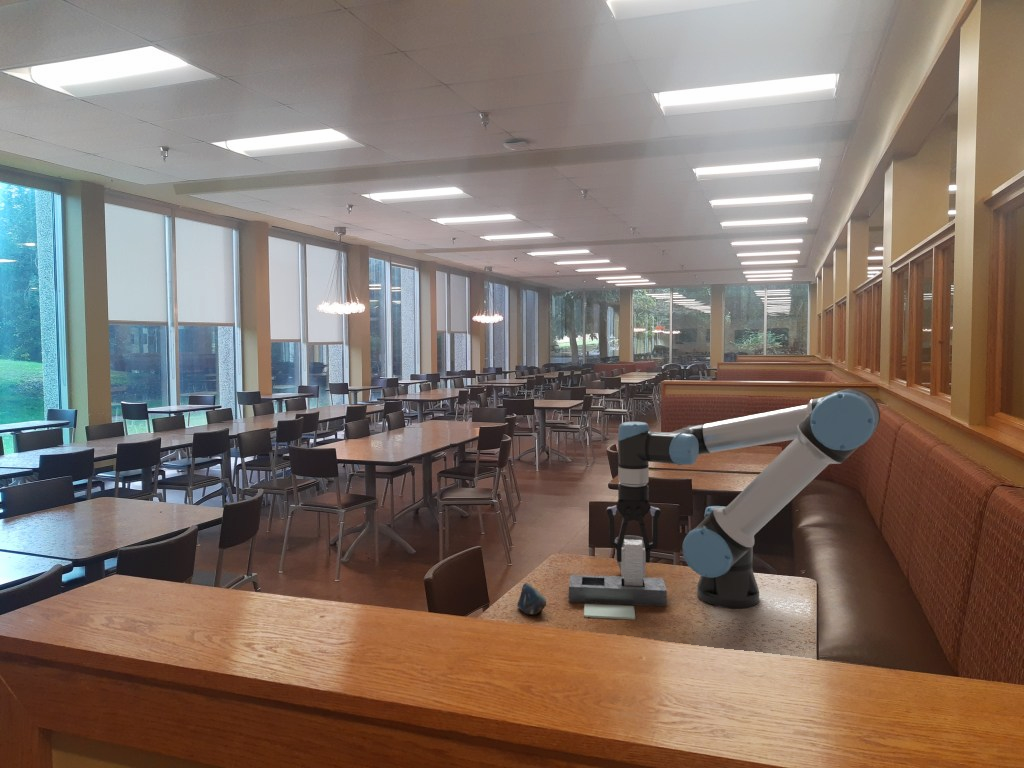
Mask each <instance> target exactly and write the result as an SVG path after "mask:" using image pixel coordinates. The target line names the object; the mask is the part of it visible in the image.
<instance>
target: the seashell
mask: <svg viewBox="0 0 1024 768" xmlns="http://www.w3.org/2000/svg"><path fill="white" fill-rule="evenodd" d="M546 605H547V599H546V598H545V596H544V595H543V594H542V593H541V592H540V591H539V590H538V589H536V588H535V586H532V584H530V583H526V582H525V583H524V584H523V586H522V588H521V593H520V595H519V598H518V602H517V608H519V609H520V610H521V612H524V613H525V614H526V615H530V616H533V615H537V614H539V613H540V612H541V611H542V610H544V609H545V607H546Z"/></svg>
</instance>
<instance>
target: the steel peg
mask: <svg viewBox="0 0 1024 768" xmlns="http://www.w3.org/2000/svg"><path fill="white" fill-rule="evenodd" d="M623 577H624V587H643V543H642V540H626V539H624V576H623Z"/></svg>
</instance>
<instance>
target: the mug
mask: <svg viewBox="0 0 1024 768" xmlns="http://www.w3.org/2000/svg"><path fill="white" fill-rule="evenodd" d="M618 537H619V536H617V537H615V538H614V541H615V542H617V541H618ZM624 539H626V540H642V543H643V548H645V545H644V541H643V537H642V536H639V535H631V534H630V535H629V534H628V535H626V534H625V536H624ZM622 547H624V541H623V545H622ZM614 551H615V558H616V563H617V564H618V567H619V570H620V571H621V562H618V561H617V549H616V548H614Z"/></svg>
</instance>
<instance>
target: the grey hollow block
mask: <svg viewBox="0 0 1024 768" xmlns="http://www.w3.org/2000/svg"><path fill="white" fill-rule="evenodd" d="M568 583H569V584H568V603H577V604H578V603H579V604H581V603H582V604H596V605H619V606H645V607H646V606H648V607H667V604H668V603H667V596H668V595H667V593H668V592H667V587H666V583H665V578H664V577H643V587H624V576H622V575H619V576H617V575H616V576H614V575H595V574H593V575H592V574H591V575H589V574H570V575H569V582H568Z"/></svg>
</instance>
